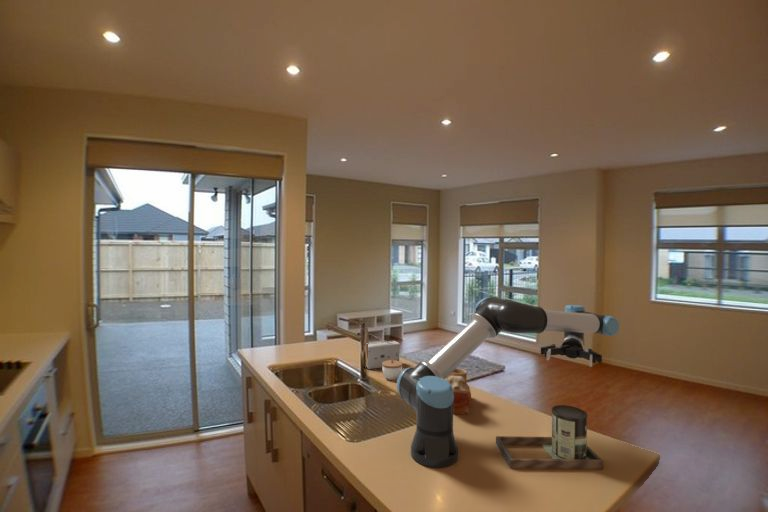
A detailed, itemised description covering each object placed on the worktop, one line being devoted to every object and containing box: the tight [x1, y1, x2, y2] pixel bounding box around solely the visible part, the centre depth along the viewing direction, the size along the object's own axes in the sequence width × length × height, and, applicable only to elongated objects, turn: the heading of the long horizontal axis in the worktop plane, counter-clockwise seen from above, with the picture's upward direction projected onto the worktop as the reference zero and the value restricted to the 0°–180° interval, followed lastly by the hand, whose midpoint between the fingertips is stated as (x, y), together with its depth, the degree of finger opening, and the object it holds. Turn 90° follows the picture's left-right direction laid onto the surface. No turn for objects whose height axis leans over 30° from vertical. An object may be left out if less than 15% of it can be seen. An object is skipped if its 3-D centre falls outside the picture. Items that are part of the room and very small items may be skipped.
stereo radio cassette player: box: [366, 333, 401, 370], centre depth 212 cm, size 21×8×20 cm, turn 115°
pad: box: [541, 445, 589, 459], centre depth 119 cm, size 12×12×1 cm
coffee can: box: [551, 404, 588, 459], centre depth 119 cm, size 10×10×14 cm
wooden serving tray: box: [495, 435, 604, 470], centre depth 119 cm, size 28×15×2 cm, turn 90°
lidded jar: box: [381, 360, 403, 381], centre depth 192 cm, size 11×11×9 cm
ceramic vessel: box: [445, 367, 472, 415], centre depth 158 cm, size 14×26×15 cm, turn 170°
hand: (568, 359), depth 130 cm, fingers open, 13 cm apart
